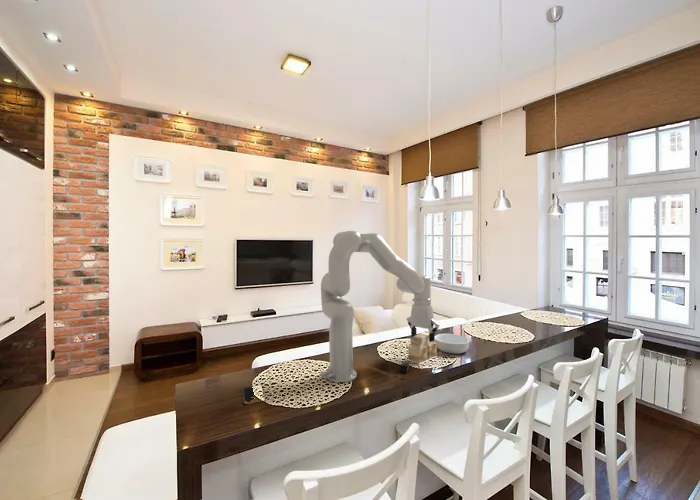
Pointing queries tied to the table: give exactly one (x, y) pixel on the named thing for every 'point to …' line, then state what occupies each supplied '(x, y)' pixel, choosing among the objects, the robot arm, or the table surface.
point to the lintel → (420, 340)
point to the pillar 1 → (417, 354)
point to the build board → (424, 361)
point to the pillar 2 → (432, 350)
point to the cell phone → (247, 393)
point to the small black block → (404, 367)
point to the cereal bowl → (452, 343)
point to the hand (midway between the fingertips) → (422, 338)
